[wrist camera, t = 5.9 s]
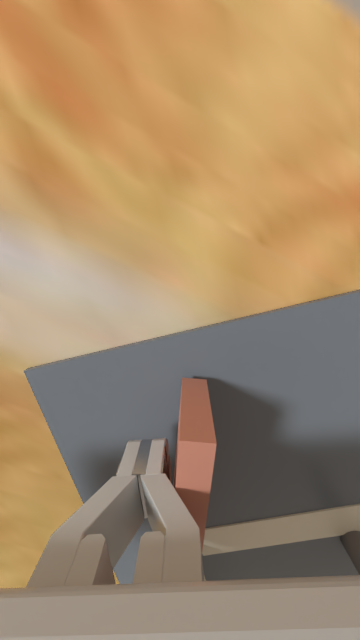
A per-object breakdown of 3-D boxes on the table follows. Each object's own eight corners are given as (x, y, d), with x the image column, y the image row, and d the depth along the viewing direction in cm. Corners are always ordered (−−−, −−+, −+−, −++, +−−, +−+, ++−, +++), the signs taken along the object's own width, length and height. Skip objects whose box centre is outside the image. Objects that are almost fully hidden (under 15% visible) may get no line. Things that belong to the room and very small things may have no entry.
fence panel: (188, 540, 12) (188, 651, 9) (168, 538, 12) (161, 648, 9) (206, 379, 10) (216, 443, 6) (182, 377, 10) (179, 440, 6)
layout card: (386, 647, 15) (391, 657, 14) (163, 670, 16) (162, 680, 16) (360, 289, 9) (367, 290, 9) (27, 368, 11) (22, 372, 10)
